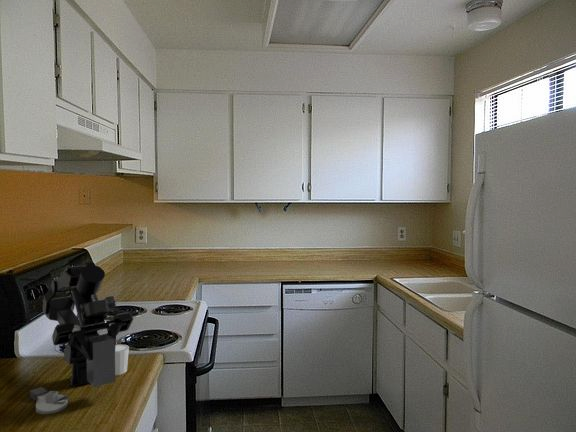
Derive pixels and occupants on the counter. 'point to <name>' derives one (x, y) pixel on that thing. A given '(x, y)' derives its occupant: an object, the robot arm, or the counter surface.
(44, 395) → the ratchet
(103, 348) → the dark grey square block
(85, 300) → the robot arm
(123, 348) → the white tapered cup
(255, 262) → the counter surface
